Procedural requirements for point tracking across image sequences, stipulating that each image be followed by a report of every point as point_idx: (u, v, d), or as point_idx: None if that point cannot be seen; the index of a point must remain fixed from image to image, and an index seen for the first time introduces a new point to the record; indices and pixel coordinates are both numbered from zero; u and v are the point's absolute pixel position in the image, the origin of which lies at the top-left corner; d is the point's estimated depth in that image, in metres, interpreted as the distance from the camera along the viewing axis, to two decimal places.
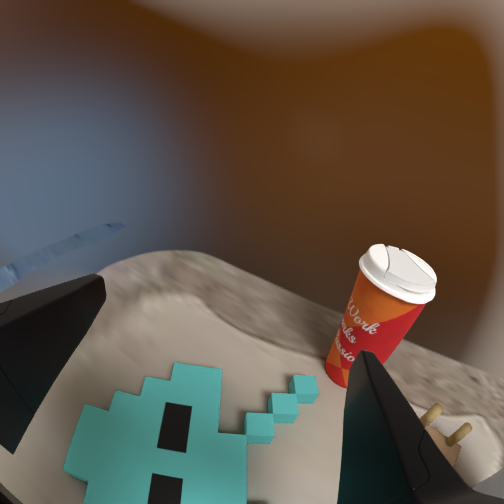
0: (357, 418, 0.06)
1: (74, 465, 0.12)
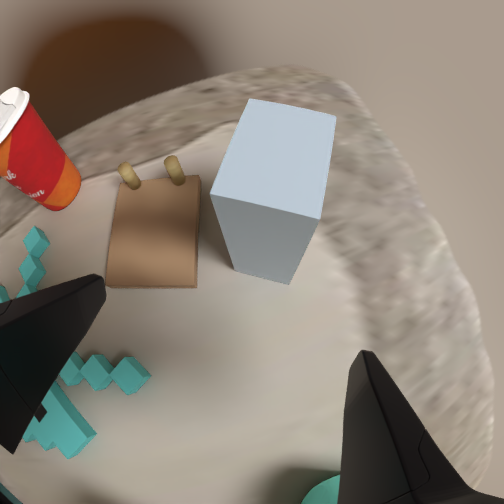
0: (357, 418, 0.06)
1: None
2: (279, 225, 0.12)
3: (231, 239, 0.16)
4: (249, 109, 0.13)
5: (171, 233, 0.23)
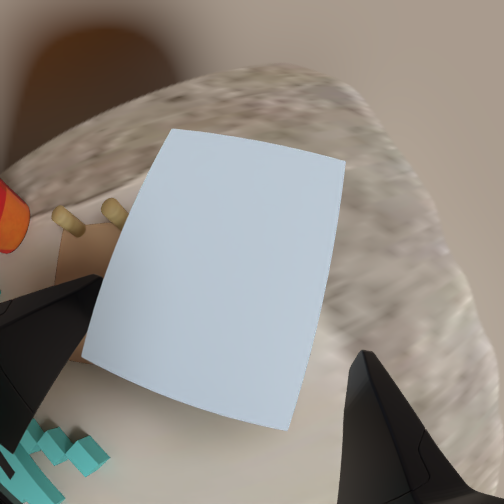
0: (357, 418, 0.06)
1: None
2: None
3: None
4: (166, 153, 0.06)
5: None
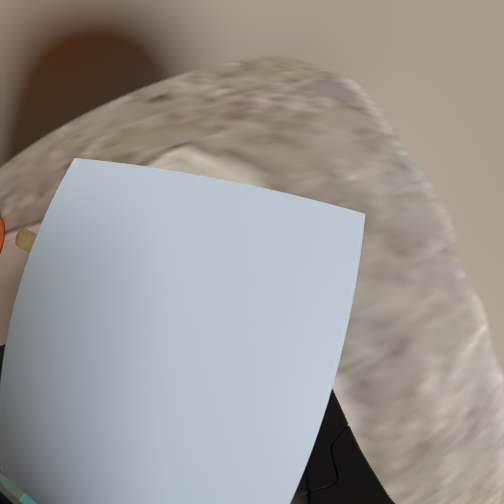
0: None
1: None
2: None
3: None
4: (59, 204, 0.04)
5: None
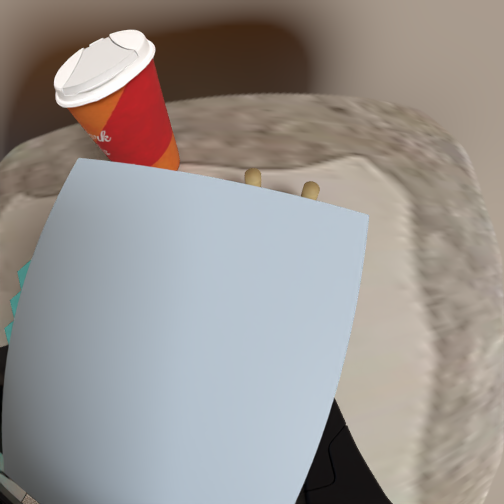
0: None
1: None
2: None
3: None
4: (63, 204, 0.04)
5: None
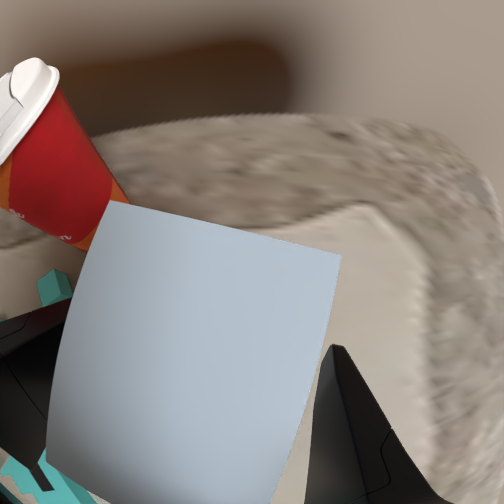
0: (323, 414, 0.06)
1: None
2: None
3: None
4: (101, 241, 0.05)
5: None
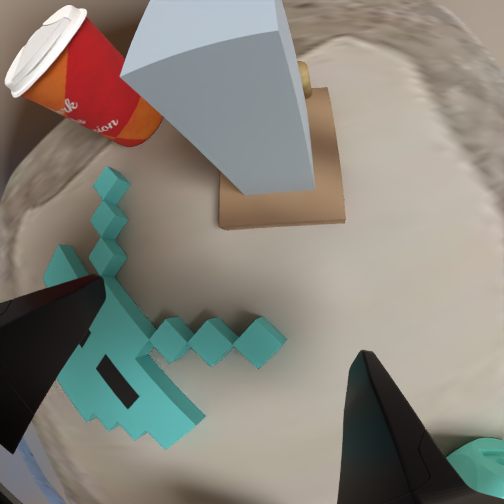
0: (357, 418, 0.06)
1: (83, 412, 0.20)
2: (235, 77, 0.07)
3: (203, 143, 0.11)
4: None
5: None
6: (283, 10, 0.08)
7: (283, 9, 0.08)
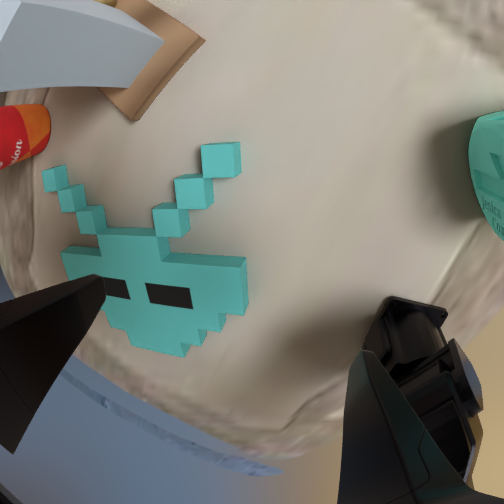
0: (357, 418, 0.06)
1: (175, 350, 0.27)
2: (29, 35, 0.06)
3: (58, 80, 0.10)
4: None
5: None
6: None
7: None
